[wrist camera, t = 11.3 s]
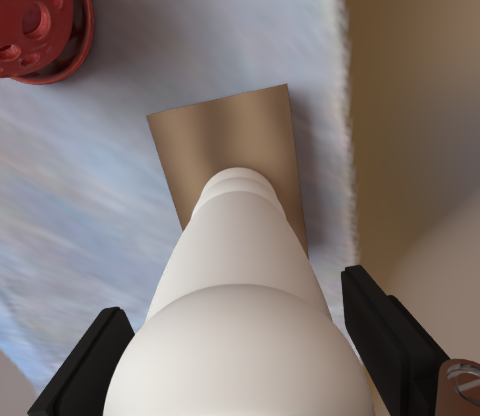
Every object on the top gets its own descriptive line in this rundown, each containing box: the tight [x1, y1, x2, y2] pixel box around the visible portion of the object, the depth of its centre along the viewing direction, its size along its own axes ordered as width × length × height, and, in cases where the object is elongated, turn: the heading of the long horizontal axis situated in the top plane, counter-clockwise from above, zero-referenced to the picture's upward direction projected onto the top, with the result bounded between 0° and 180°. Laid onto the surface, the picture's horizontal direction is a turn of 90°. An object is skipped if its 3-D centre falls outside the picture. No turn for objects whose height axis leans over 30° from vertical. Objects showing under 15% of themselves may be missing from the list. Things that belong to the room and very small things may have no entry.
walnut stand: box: [146, 84, 309, 260], centre depth 25 cm, size 12×18×4 cm, turn 12°
